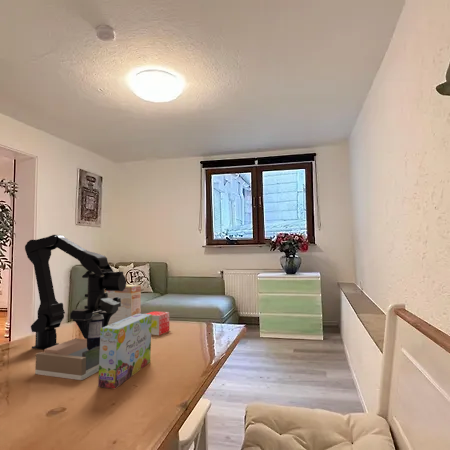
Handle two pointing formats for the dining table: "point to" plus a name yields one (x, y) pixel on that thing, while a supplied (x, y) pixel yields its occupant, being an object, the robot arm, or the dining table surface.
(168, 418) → the dining table surface
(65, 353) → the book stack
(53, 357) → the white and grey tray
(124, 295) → the coffeecake box
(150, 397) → the dining table surface
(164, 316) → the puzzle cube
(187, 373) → the dining table surface
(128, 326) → the snack box
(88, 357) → the grey flat plate
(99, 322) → the beverage can
